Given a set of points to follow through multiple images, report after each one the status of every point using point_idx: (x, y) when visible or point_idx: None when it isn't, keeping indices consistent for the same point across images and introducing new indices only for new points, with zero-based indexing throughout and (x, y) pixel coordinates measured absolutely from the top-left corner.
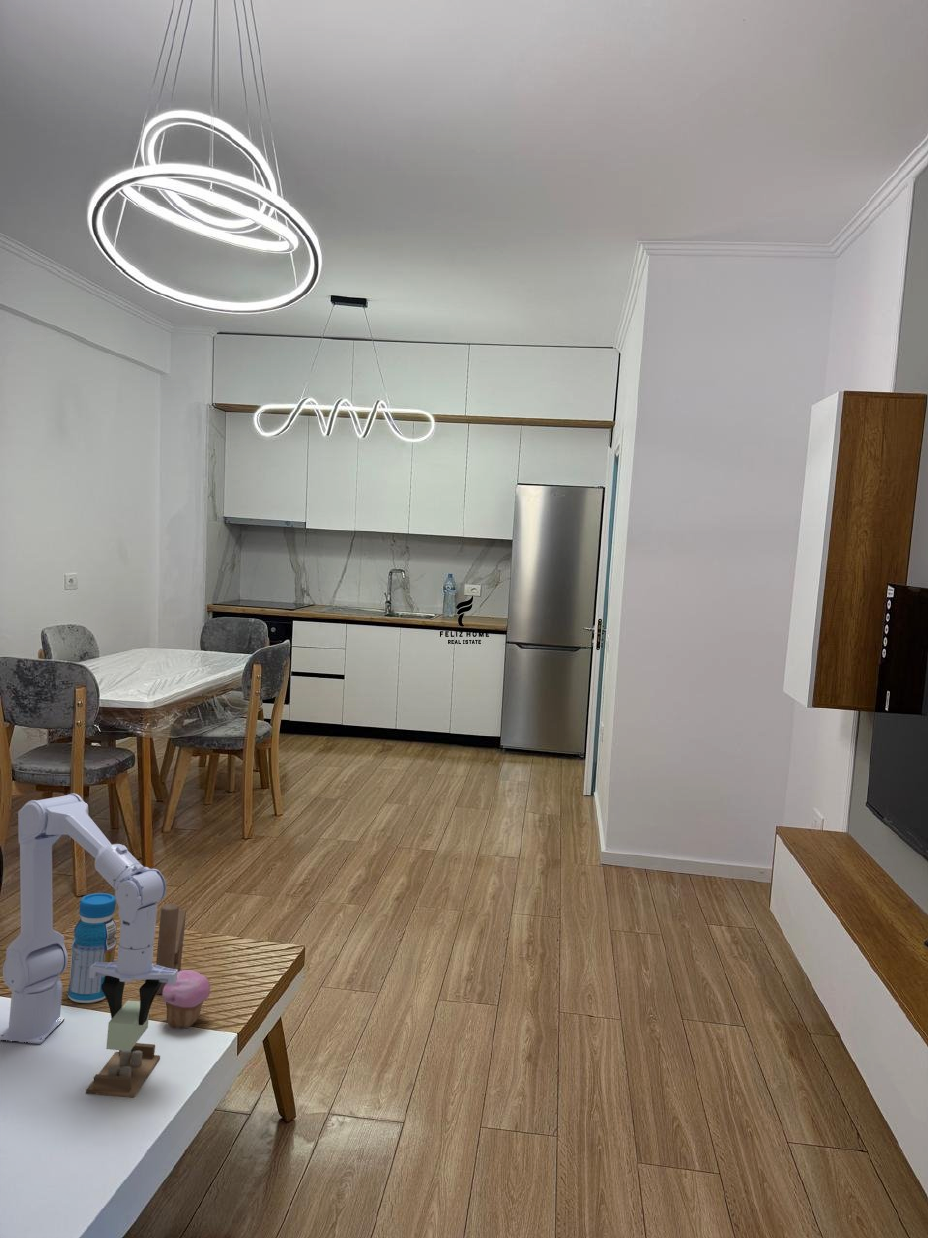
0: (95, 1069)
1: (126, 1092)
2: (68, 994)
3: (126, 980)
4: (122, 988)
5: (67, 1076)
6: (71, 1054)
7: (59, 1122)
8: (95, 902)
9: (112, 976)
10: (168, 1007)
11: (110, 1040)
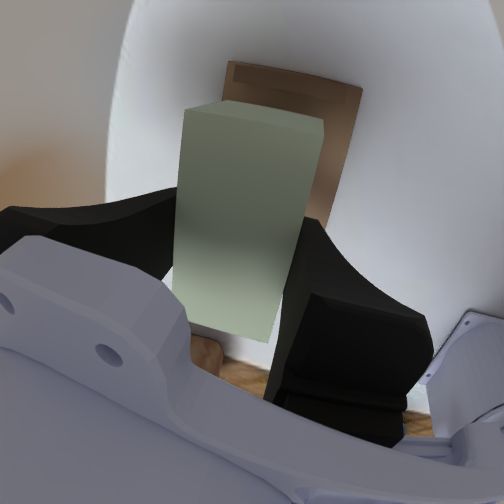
0: (355, 200)
1: (250, 66)
2: (404, 428)
3: (34, 254)
4: (272, 370)
5: (418, 177)
6: (413, 272)
7: None
8: None
9: (334, 433)
10: (211, 372)
11: (307, 119)
